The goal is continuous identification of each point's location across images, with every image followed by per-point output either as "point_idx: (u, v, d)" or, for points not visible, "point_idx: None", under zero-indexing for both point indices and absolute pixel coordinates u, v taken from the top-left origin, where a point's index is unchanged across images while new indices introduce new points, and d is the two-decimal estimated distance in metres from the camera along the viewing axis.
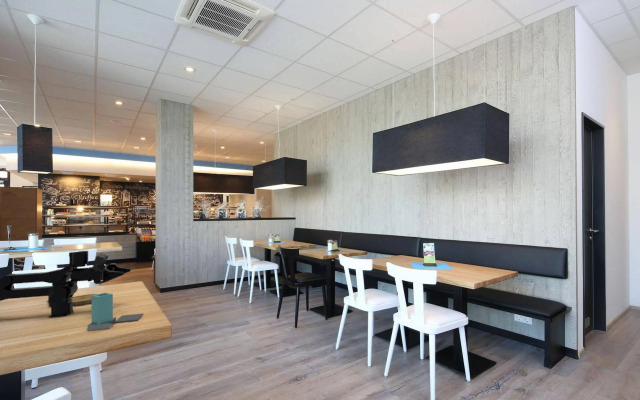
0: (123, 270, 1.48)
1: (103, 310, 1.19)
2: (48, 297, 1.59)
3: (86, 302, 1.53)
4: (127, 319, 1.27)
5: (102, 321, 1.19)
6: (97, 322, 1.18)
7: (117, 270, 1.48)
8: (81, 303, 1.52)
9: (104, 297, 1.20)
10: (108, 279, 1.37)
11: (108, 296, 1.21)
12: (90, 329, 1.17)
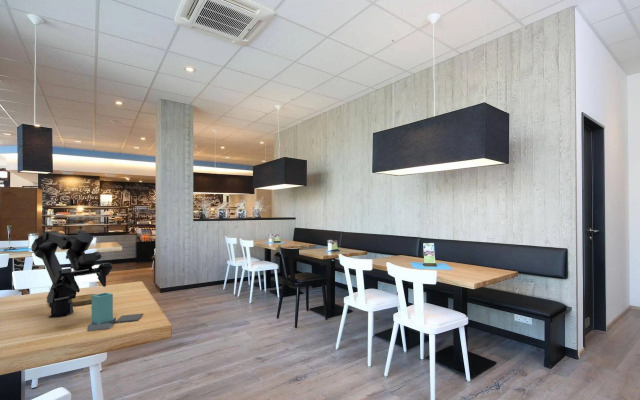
0: (102, 280, 1.30)
1: (103, 310, 1.19)
2: None
3: (86, 302, 1.53)
4: (127, 319, 1.27)
5: (102, 321, 1.19)
6: (97, 322, 1.18)
7: (101, 275, 1.32)
8: (81, 304, 1.52)
9: (104, 297, 1.20)
10: (66, 284, 1.22)
11: (108, 296, 1.21)
12: (90, 329, 1.17)
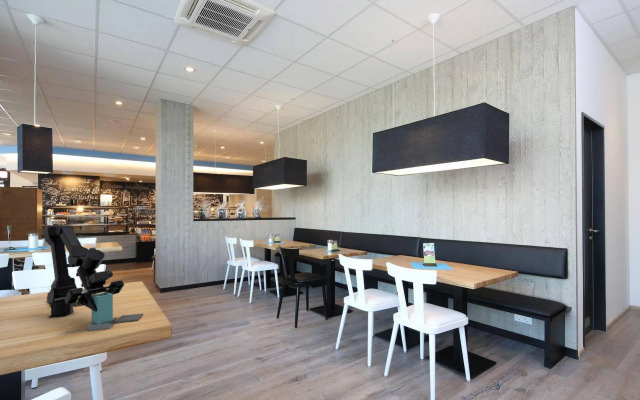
0: None
1: (103, 310, 1.19)
2: None
3: None
4: (127, 319, 1.27)
5: (102, 321, 1.19)
6: (97, 322, 1.18)
7: None
8: None
9: (104, 297, 1.20)
10: (83, 303, 1.19)
11: (108, 296, 1.21)
12: (90, 329, 1.17)
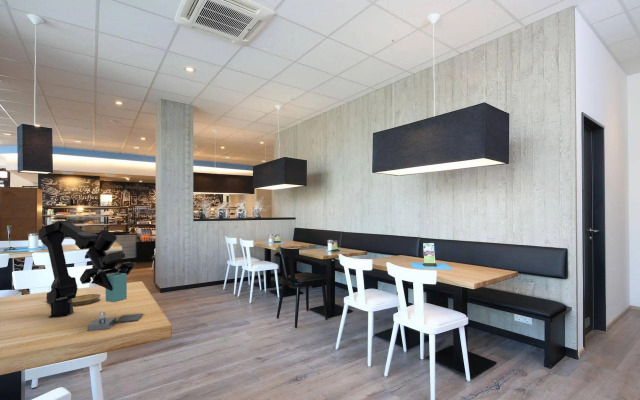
0: None
1: (119, 289, 1.24)
2: None
3: (86, 302, 1.53)
4: (127, 319, 1.27)
5: (117, 299, 1.23)
6: (113, 300, 1.22)
7: None
8: (81, 303, 1.52)
9: (119, 276, 1.24)
10: (98, 283, 1.23)
11: (122, 276, 1.25)
12: (90, 329, 1.17)
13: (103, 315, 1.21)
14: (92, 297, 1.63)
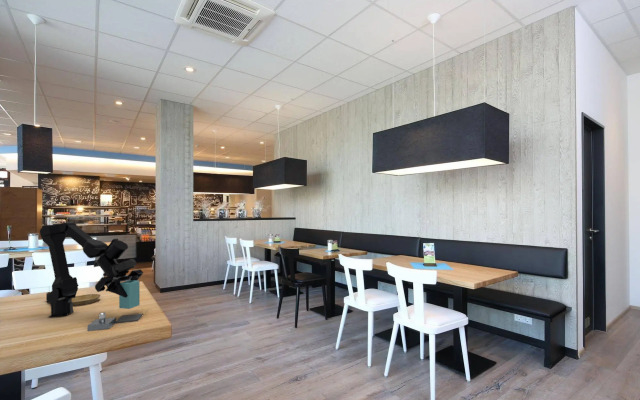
0: None
1: (133, 296, 1.28)
2: None
3: (86, 302, 1.53)
4: (127, 319, 1.27)
5: (132, 306, 1.28)
6: (128, 307, 1.27)
7: None
8: (81, 304, 1.52)
9: (133, 284, 1.29)
10: (112, 291, 1.26)
11: (136, 283, 1.30)
12: (90, 329, 1.17)
13: (103, 315, 1.21)
14: (92, 297, 1.63)
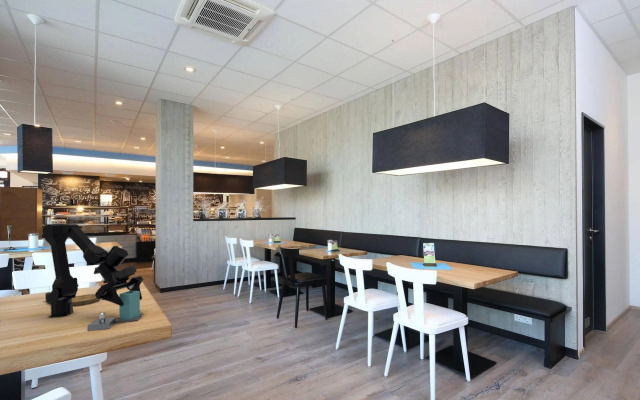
0: None
1: (133, 307, 1.28)
2: (46, 297, 1.58)
3: (86, 302, 1.53)
4: None
5: (132, 317, 1.28)
6: (128, 318, 1.26)
7: (134, 289, 1.35)
8: (81, 303, 1.52)
9: (133, 294, 1.29)
10: (108, 299, 1.24)
11: (136, 293, 1.30)
12: (90, 329, 1.17)
13: (103, 315, 1.21)
14: (92, 297, 1.63)
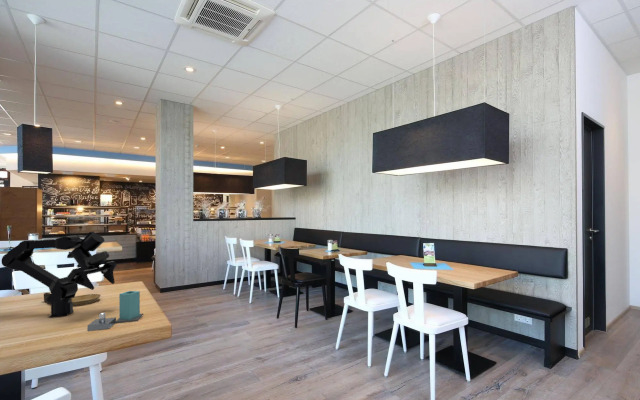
0: (110, 278, 1.40)
1: (133, 307, 1.28)
2: (45, 298, 1.58)
3: (86, 302, 1.53)
4: None
5: (132, 317, 1.28)
6: (128, 318, 1.26)
7: (107, 273, 1.40)
8: (81, 303, 1.52)
9: (133, 294, 1.29)
10: (79, 283, 1.30)
11: (136, 293, 1.30)
12: (90, 329, 1.17)
13: (103, 315, 1.21)
14: (92, 297, 1.63)
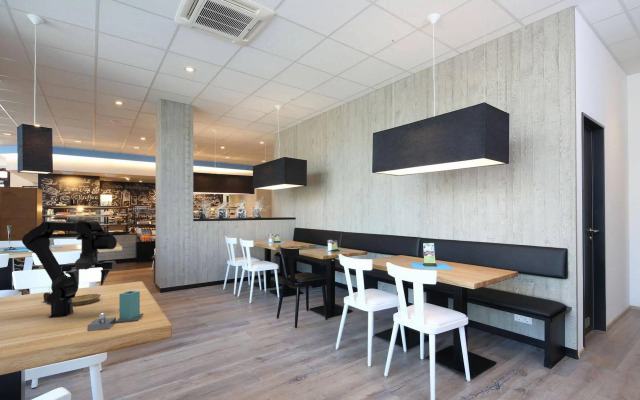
0: None
1: (133, 307, 1.28)
2: (45, 298, 1.58)
3: (87, 302, 1.53)
4: None
5: (132, 317, 1.28)
6: (128, 318, 1.26)
7: None
8: (81, 303, 1.52)
9: (133, 294, 1.29)
10: None
11: (136, 293, 1.30)
12: (90, 329, 1.17)
13: (103, 315, 1.21)
14: (92, 297, 1.63)
